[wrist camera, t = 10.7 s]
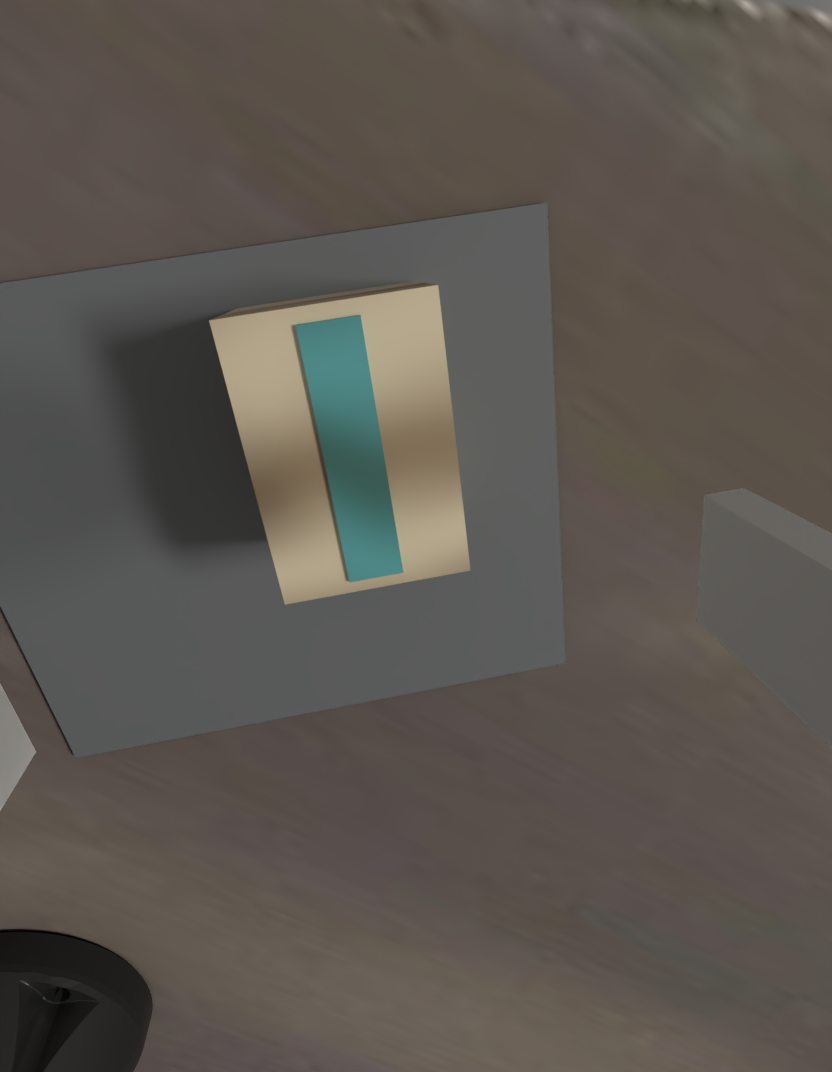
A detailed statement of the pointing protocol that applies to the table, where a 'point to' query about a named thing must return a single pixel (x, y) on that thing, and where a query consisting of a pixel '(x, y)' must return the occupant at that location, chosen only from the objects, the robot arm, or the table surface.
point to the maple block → (348, 436)
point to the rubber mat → (229, 498)
